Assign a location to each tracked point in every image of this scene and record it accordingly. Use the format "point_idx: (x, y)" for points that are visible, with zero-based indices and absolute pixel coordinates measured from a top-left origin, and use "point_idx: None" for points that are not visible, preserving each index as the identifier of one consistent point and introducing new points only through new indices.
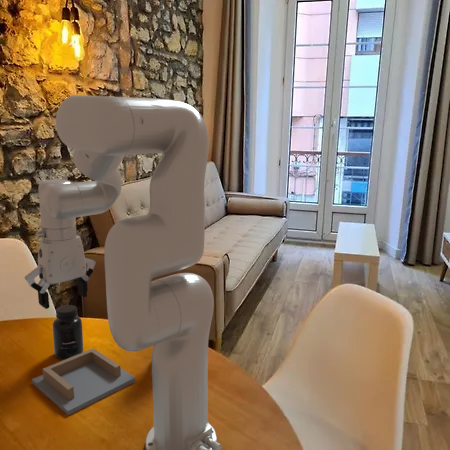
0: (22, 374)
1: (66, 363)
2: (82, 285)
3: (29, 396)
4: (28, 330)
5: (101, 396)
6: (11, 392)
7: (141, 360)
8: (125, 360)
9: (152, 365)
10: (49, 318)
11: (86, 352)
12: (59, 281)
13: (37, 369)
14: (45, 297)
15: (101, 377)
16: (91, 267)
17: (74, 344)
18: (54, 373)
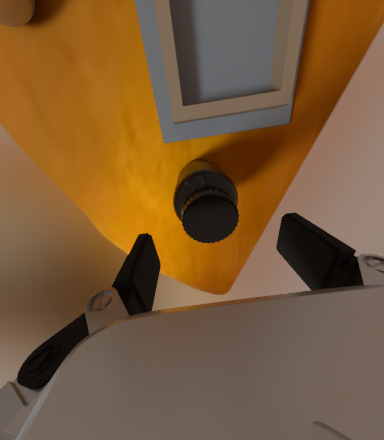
0: (277, 165)
1: (243, 97)
2: (140, 272)
3: (312, 77)
4: (215, 269)
5: None
6: (318, 118)
7: (83, 47)
8: (118, 79)
9: None
10: (184, 282)
11: (192, 111)
12: (357, 297)
13: (255, 165)
14: (331, 238)
15: (192, 5)
16: (9, 401)
17: (200, 162)
18: (289, 54)
